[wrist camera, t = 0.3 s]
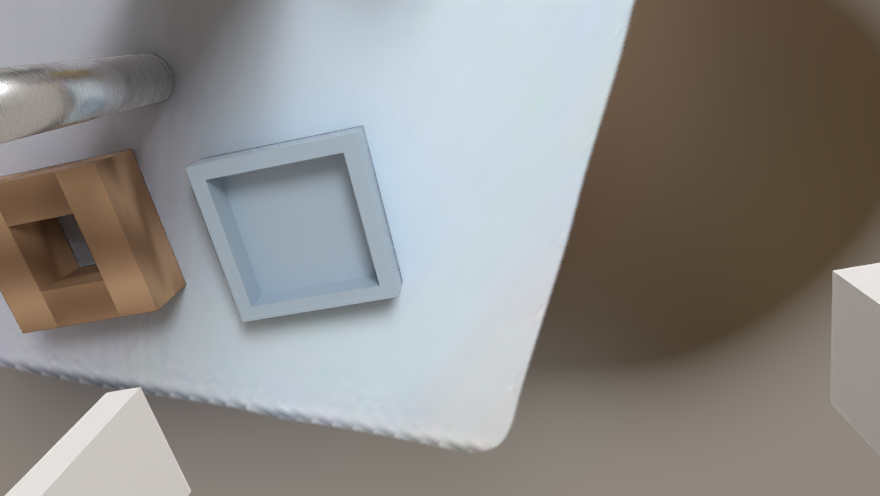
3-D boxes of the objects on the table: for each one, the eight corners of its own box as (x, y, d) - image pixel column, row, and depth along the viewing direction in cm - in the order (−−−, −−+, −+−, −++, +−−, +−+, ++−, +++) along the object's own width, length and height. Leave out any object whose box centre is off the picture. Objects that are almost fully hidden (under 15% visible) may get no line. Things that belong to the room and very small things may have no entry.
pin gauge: (119, 58, 36) (-84, 81, 23) (163, 48, 36) (-19, 65, 23) (137, 106, 37) (-47, 154, 24) (180, 97, 37) (16, 140, 24)
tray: (202, 158, 38) (184, 167, 36) (363, 125, 37) (355, 132, 34) (255, 305, 42) (242, 322, 39) (402, 281, 40) (398, 296, 38)
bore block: (-2, 177, 39) (-52, 193, 36) (131, 149, 38) (94, 163, 34) (62, 306, 43) (23, 333, 39) (186, 284, 42) (157, 310, 38)
